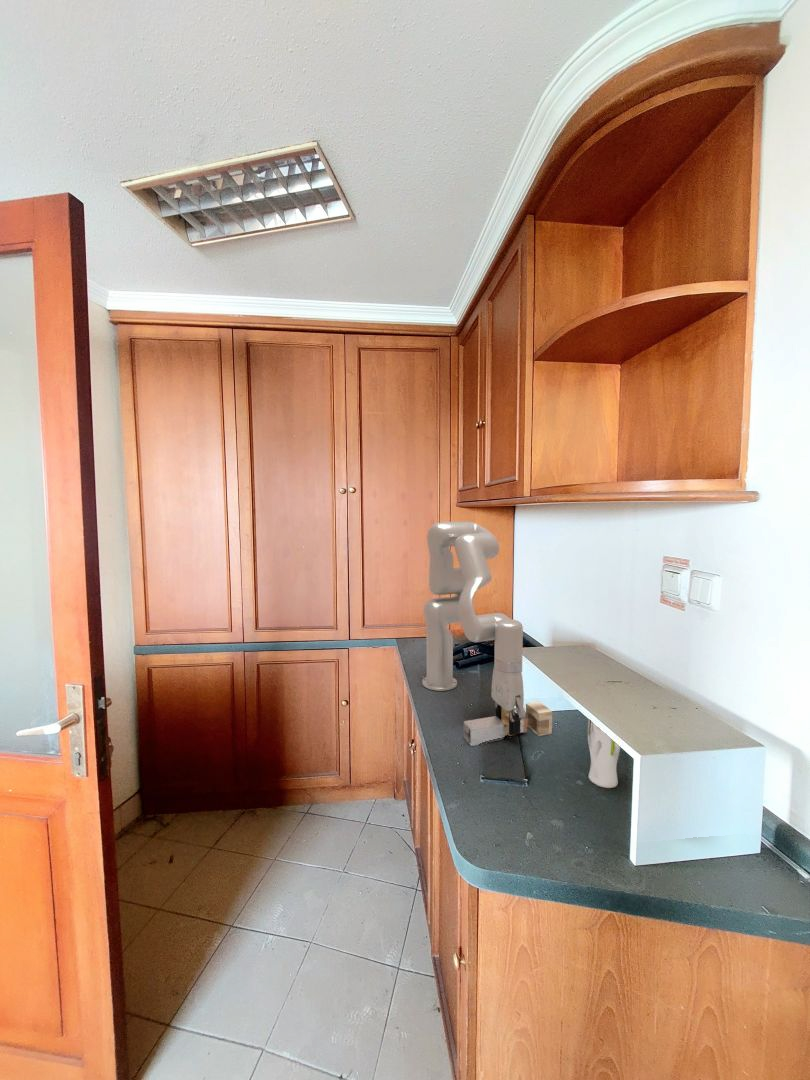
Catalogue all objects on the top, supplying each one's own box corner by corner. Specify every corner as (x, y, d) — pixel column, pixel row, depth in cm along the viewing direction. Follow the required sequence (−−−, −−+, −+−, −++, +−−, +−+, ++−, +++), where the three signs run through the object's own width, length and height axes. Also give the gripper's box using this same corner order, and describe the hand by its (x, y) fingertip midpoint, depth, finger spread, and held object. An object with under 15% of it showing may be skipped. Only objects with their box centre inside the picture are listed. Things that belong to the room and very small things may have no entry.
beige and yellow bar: (469, 735, 114) (469, 711, 114) (519, 726, 119) (520, 703, 118) (475, 743, 110) (475, 717, 110) (527, 733, 115) (528, 709, 114)
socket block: (525, 724, 121) (525, 703, 120) (538, 722, 122) (538, 701, 121) (538, 736, 114) (539, 713, 114) (551, 733, 116) (552, 711, 115)
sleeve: (463, 737, 114) (463, 721, 114) (496, 731, 117) (496, 716, 117) (471, 746, 110) (471, 729, 109) (504, 740, 112) (504, 723, 112)
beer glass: (624, 791, 91) (626, 725, 90) (590, 787, 93) (592, 722, 92) (614, 772, 98) (616, 711, 97) (583, 769, 100) (584, 708, 99)
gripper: (481, 656, 121) (481, 715, 122) (513, 678, 105) (512, 746, 106) (504, 653, 123) (503, 711, 125) (538, 674, 107) (537, 741, 108)
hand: (507, 727), depth 115 cm, fingers open, 6 cm apart
